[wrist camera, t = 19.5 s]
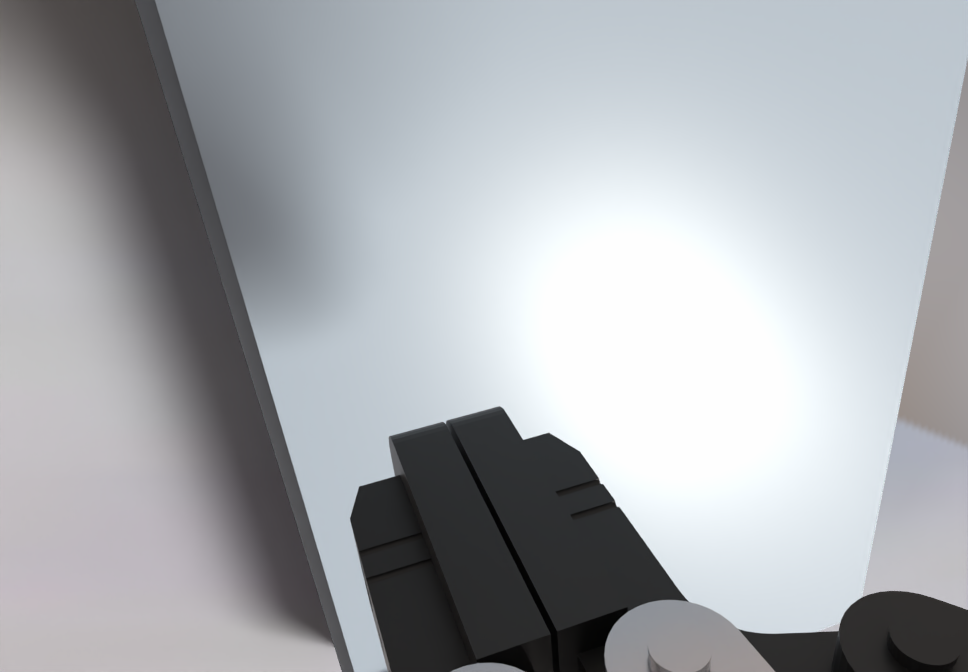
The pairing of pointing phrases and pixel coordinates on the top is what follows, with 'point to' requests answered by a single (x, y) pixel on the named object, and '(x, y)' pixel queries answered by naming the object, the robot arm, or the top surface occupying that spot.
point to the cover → (591, 254)
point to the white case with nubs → (237, 307)
